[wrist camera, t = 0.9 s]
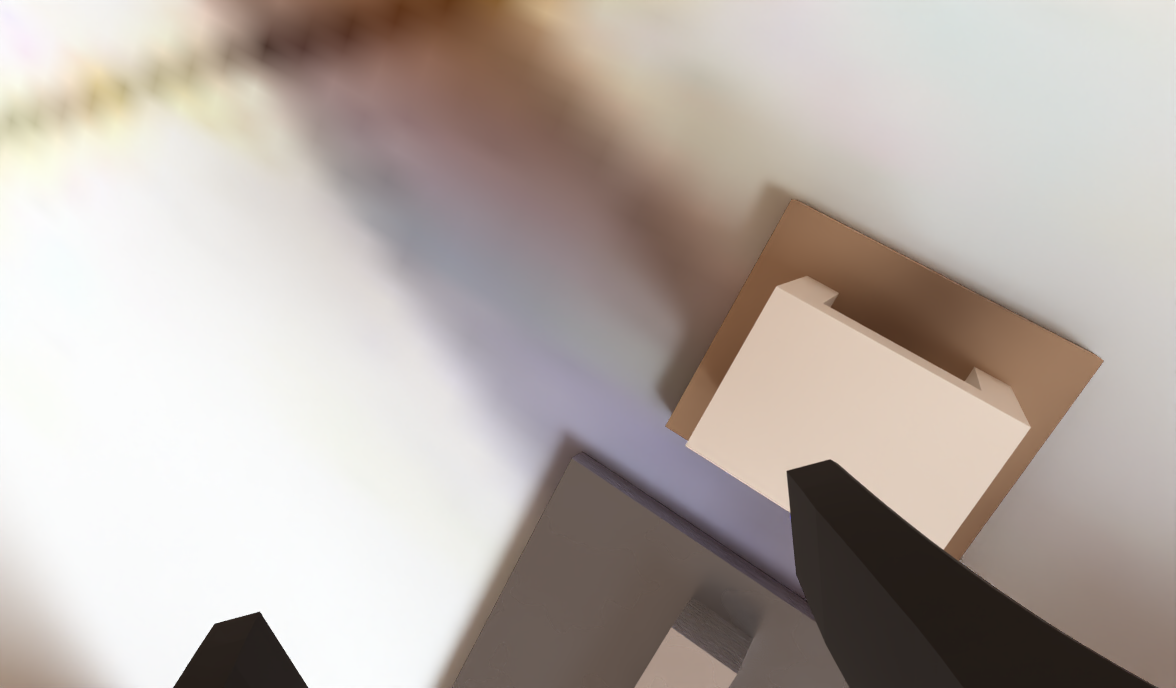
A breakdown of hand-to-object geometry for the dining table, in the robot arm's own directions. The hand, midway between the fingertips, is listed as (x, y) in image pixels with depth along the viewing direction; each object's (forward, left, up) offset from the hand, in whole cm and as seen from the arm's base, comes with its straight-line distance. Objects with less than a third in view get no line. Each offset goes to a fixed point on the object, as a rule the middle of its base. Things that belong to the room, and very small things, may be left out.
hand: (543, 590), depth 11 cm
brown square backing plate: (-2, -2, -13) cm, 13 cm away
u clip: (-2, -2, -12) cm, 12 cm away
